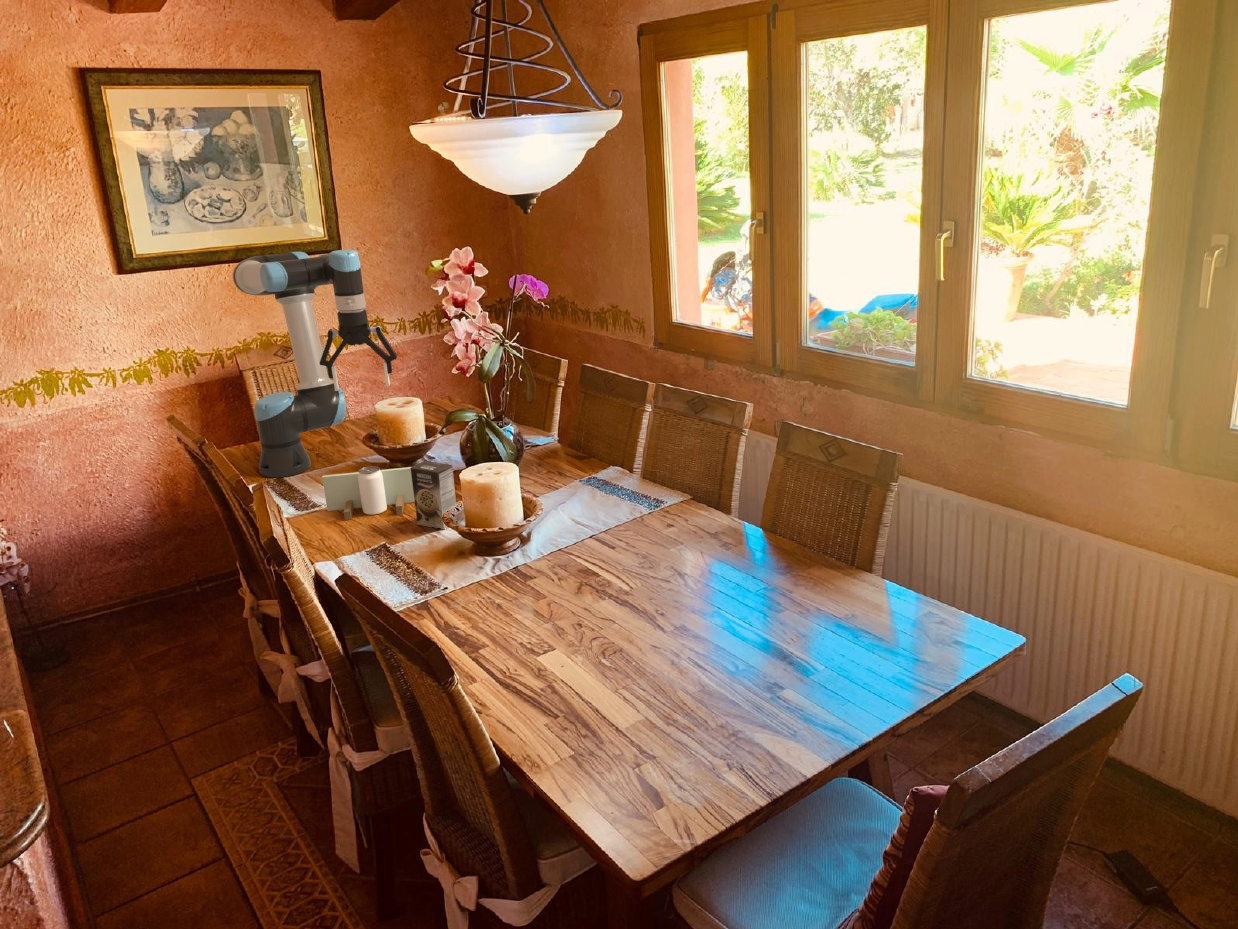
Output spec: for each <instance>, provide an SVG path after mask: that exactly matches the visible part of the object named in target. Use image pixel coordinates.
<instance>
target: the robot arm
mask: <svg viewBox="0 0 1238 929" xmlns="http://www.w3.org/2000/svg"><path fill="white" fill-rule="evenodd" d="M232 279H233V280H232V281H233V283H234V285H235V287H236V288H237V289H238V290H239V291H240V292H242V293H244V294H245V295H246V294H247V295H251V296H271V295H274V297H275V301H276V302H277V303H279V304H280V305H281V306H282V309H283V314H284V318H285V322H286V326H287V331H288V335H289V336H288V337H289V339H290V344H291V349H292V352H293V353H292V354H293V358H294V361H295V366H296V370H297V375H298V379H299V384H298V386H297V387H296V393H297V394H296V395H294V394H293V393H292V392H291V391H280V392H279V391H277V392H274V393H271V394H268V395H266V396H263V397H261V398H260V399H258V400H257V401H256V402H255V403H254V418H255V421H256V425H257V426H256V427H257V431H258V436H259V443H260V447H261V451H260V456H259V462H258V463H259V464H258V470H259V474H261V476H263V477H267V478H283V477H284V478H285V477H291V476H295V475H298V474H302V473H304V472H306V471H307V470H309V469H310V468H311V467H312V464H311V463H312V462H311V458H310V455H309V454H308V452H307V450H306V449H305V447H304V445H303V442H302V438H301V433H306V432H307V433H308V432H311V431H316V430H320V429H324V428H331V427H334V426H336V425H340V424H342V422H344V421H345V418H346V415H347V400H346V396H345V394H344V390H343V389H342V388H341V386H340V385H339V380H338V373H337V367H336V364H334V363H335V361H336V360H337V359H338V357H339V356H340V354H341V352H342V351H343V350H344V348H345V347H346V346H347V345H349V346H350V347H351V346H352V347H353V346H355V345H357V346H362V345H364V344H366V345H367V346H368V347H369V348H371V349H372V350H373V352H375V353H376V354H377V355H378V356H379V357H380V358H381V359H382V360H383V364H382V365H383V370H384V371H383V372H384V378H385V379H384V380H385V386H386V388H387V387H390V384H391V383H390V375H391V374H392V372H393V367H392V366H393V365H392V361H395V360H397V358H398V355H397V353H396V351H395V350H394V348H393V346H392V345H391V344H390V342H389V341H388V339H387V337H386V336H385V335H384V333H383V330H382V326H381V325H380V324H379V325H376V326H374V327H373V326H372V327H370V325H369V321H368V313H367V310H366V309H365V308H366V306H367V305H366V304H367V303H366V299H365V298H366V297H365V292H364V286H363V285H364V284H363V277H362V267H361V261H360V257H359V253H358V251H357V250H355V249H339V250H338V249H337V250H333V251H330V252H329V253H328V254H326V253H325V254H320V255H318V256H313V257H310V256H309V255H308V254H307V253H306V252H303V251H287V252H281V253H273V254H272V253H271V254H264V255H255V256H251V257H248V258H246V259H244V260H241V261H240V262H238V264H236V266H235V267H234V269H233V271H232ZM327 285H332V287H333V288H332V289H333V293H334V301H335V307H336V310H337V311H338V312H337V314H336V315H337V321H338V327H339V328H338V329H333V328H329V329H328V331H327V340H326V344H325V346H324V350H323V348H322V343H321V338H320V334H319V329H318V325H317V320H316V316H315V311H314V306H313V303H312V300H313V298H314V296H315V295H316V293H315V290H316V289H317V288H319V287H320V286H327ZM371 333H373V334H374V335H375V336H377V338H378V339H379V341H380V342H381V344H382V345H383V347H384V348H385V350H386V352H388V354H387V353H386V352H385V351H384V350H383V349H382V348H381V347H380V346H379V345H377V343H375V342H374V341H373V339H371V337H369V336H370V335H371ZM337 336H339V337H340V338H341V339H342V341H341V342H340V344H339V345H338V347H337V349H336V350H335V351H334V352H333V354H332V356H331V357H330V358H329V360H327V358H328V355H329V352H330V349H331V347H332V344H333V340H334V339H335V338H336V337H337ZM389 374H390V375H389Z"/></svg>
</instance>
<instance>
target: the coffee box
mask: <svg viewBox="0 0 1238 929" xmlns="http://www.w3.org/2000/svg"><path fill="white" fill-rule="evenodd" d="M410 467H411V468H410V469H411V476H412V484H413V492H414V500H415V502H414V507H415V515H416V521H417V522H416V524H417V525H419V526H425V527H429V528H432V527H434V528H433V529H437V528H441V529H440V530H442V529H445V528H446V529H448V528H449V527H446V526H445V524H444V523H443V520H442V517H443V514H444V513H446V512H447V511H448V510H451V509H453V508H454V507H456V508H457V500H456V499H457V498H456V490H455V480H454V469H453V464H448V463H442V462H436V461H429V460H424V461H422V462H419V463H416V464H415V465H413V466H410ZM446 529H445V530H446Z"/></svg>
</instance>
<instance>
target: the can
mask: <svg viewBox="0 0 1238 929" xmlns="http://www.w3.org/2000/svg"><path fill="white" fill-rule="evenodd" d="M380 470H381V468H380V467H379V466H376V465H374V466H373V465H371V466H365V467H362V468H359V469H358V471H357V472H359V474H358V483H359V489H360V496H361V503H362V508H361V509H362V513H363V514H365V515H366V516H367V515H368V516H376V515H380V514H383V513H385V512H386V511H387V509H388V505H387V504H386V497H385V490H384V483H383V476H382V472H381V471H380Z"/></svg>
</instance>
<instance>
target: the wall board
mask: <svg viewBox="0 0 1238 929" xmlns="http://www.w3.org/2000/svg"><path fill="white" fill-rule="evenodd" d="M411 467H412V466H408V467H399V468H388V469H387V468H386V469H380V471H381V472H382V476H383V483H384V490H385V497H386V504H387V506H391V505H395V512H396V516H401V515H404V506H405V504H411V503H415V500H414V492H413V484H412V476H411V469H410V468H411ZM358 474H359V472H358V471H356V472H348V473H347V472H346V473H345V472H344V473H336V474H328V475H327V474H325V475H322V478H321V480H322V485H323V490H324V496H325V498H324V499H325V503H326V509H327V512H332V511H342V510H343V518H344V521H351V520H352V518H353V515H354V514H353V513H354V509H362V503H361V496H360V489H359V483H358Z"/></svg>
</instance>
